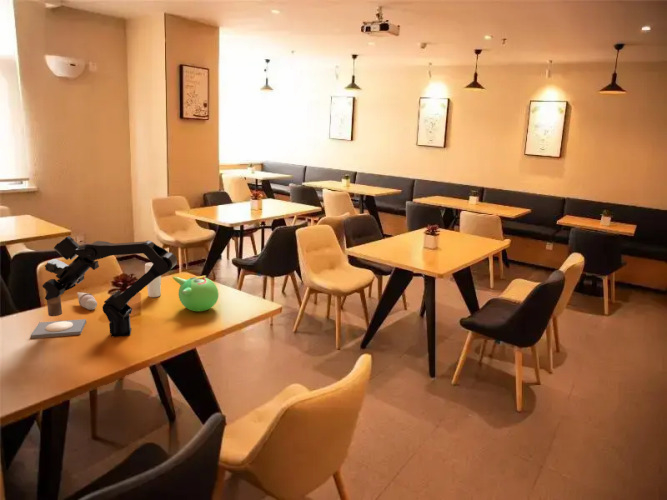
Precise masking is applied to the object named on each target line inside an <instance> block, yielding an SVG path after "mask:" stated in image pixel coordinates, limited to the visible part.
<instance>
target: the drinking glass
mask: <svg viewBox="0 0 667 500" xmlns="http://www.w3.org/2000/svg"><path fill="white" fill-rule="evenodd" d="M152 265H153V263H151V261H149V262H146V263H145V264H144V274H145V273H147V272H148V271H149V270H150V268H151V267H152ZM161 285H162V275H161V276H159V277H157V278H155V279H154V280H153V281H151V282H150V283H149V284H148V285H147V286H146V287H147V295H148V297H149V298H158V297H160V296H161V295H162V293H161V290H162V289H161V287H162V286H161Z"/></svg>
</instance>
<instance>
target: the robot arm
mask: <svg viewBox="0 0 667 500" xmlns="http://www.w3.org/2000/svg"><path fill="white" fill-rule="evenodd" d="M53 250H54V251H56V252H57V253H58V254H59V255H60V256H61V257H62V258H64V259H65V260H67V261H68V260H71V261H72V262H71V263H69V264H67V263H66V262H64V261H61V260H59V259H57V258H52V259H51V260H48V261H47V262H46V264H45V265H44V268H45V271H47V272H49V273H51V274H52V273H53V274H54V275H55V277H56V278H57V279H55V278H53V279H52V278H51V279H48V280H46V281H45V282H44V283H43V284H42V285H41V286H42V288H44V290H47V291H48V292H47V295H46V294H45V297H44V300H46V301H47V300H49V299H52V298H54V297H55V298H57V297H59V296H60V297H61V296H62V295H63V294H65V292H66V291H68V290H70V289H72V288H74V287H76V286H77V285H79V284H81V283H82V282H83V281H84V280H85V275H86V273H87V271H89V270H90V269H91V270H92V271H93V270H94V271H96V269H99V267H100V264H99V261H98V260H101V259H105V258H107V257H110V256H121V255H122V256H124V255H137V254H139V255H140V254H143V255H145V257H146V259H148V260H149V262H151V263H153V265H152V267H151V268H150V270H149V271H148V272H147V273H145V272H144V274H143V275H142V276H141V277H139V278H138V279H137V280H135V282H133V283H132V284H131V285H130V286H129V287H128V288H126V289H125V290H124V291H122V292H121V291H120V290H119V289H118V290H116V291H115V292H114V293H112V294H111V295H110V296H109V297H107V298H106V300H104V302H103V303H104V304H103V305H102V311H103V313H104V315H105V316H106V317H107V320H108V322H109V324H108V325H109V334H110V337H111V338H117V337H128V336H131V332H132V326H131V314H132V311H133V308H132V307H131V306H130V305H128V303H130V301H131V300H132V298H134V296H136V295H137V294H138V293H140V292H141V291H142V290H143V289H145V288H146V287H147V285H148V284H149V283H150V282H151V281H153V280H154V279H155V278H157V277H159V276H161V277H162V276H163V275H164V274H167V273H168V272H170V271H171V270H172V269H173V268H174V267H175V266H176V265H177V263H178V258H177V256H176V255H175V254H174V253H173V252H170V251H168V250H166V249H165V248H163V247H161V246H160V245H157V244H156V243H154V242H153V241H152V240H146V241H130V242H118V243H116V242H109V241H105V240H104V241H102V240H95V241H93V242H91V243H88V244H84V245H80V244H78V243H77V242H76V241H75V240H74V238H73V237H71V236H70V235H67V236H66V237H65V238H64V239H62V240H61V241H59V242H58V243H56V244H55V246H54V247H53ZM74 258H75V259H74Z"/></svg>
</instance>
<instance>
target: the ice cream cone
mask: <svg viewBox="0 0 667 500" xmlns="http://www.w3.org/2000/svg"><path fill="white" fill-rule="evenodd" d="M76 293H77V299H78V304H79V306H80V307H82V308H85V309H86V310H89V311H90V310H91V311H92V310H94V309H96V308H97V306H98V301H97V300H96V298H95V297H94V295H93V294H92V293H88V292H76Z"/></svg>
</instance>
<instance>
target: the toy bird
mask: <svg viewBox="0 0 667 500" xmlns="http://www.w3.org/2000/svg"><path fill="white" fill-rule="evenodd" d="M172 279H173V281H175V282H176V283H177V284H179V285H180V286H179V289H178V298H179V301H180V303H181V304H182V306H183V307H184V308H186V309H187V310H189V311H191V312H192V311H193V312H205V311H207V310H209V309H211V308H212V307H214V306H215V305H216V304H217V302H218V299H219V289H218V287H217V285H216V284H215V282H213V281H212V280H211V279H209V278H208V277H207V275H201V276H193V277H189V278H187V279H184V278H182V277H178V276H173V277H172Z"/></svg>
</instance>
